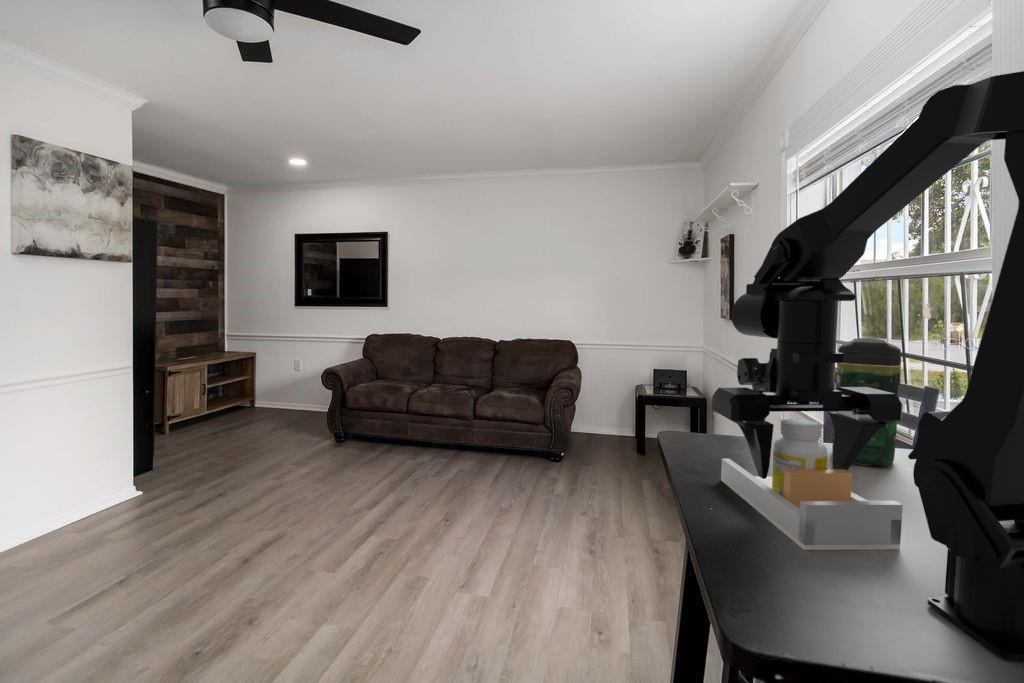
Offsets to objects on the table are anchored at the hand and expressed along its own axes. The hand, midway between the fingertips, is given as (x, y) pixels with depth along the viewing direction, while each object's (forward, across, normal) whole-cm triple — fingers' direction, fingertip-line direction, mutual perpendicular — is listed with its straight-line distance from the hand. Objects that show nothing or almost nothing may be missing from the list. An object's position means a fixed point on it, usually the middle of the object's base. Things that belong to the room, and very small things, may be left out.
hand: (799, 477), depth 57 cm
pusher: (+4, 0, +3) cm, 5 cm away
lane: (+4, 0, 0) cm, 4 cm away
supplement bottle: (+4, 0, 0) cm, 4 cm away
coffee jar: (+4, -21, -19) cm, 29 cm away
